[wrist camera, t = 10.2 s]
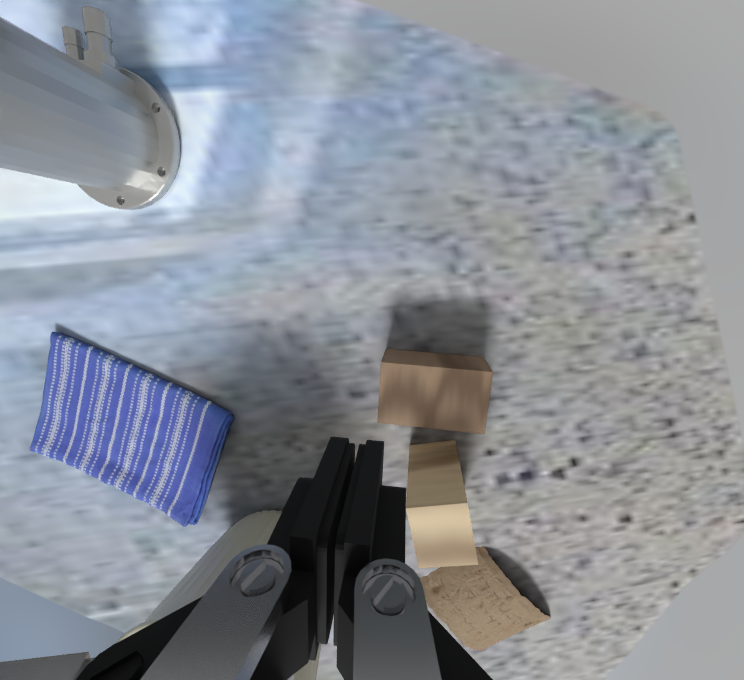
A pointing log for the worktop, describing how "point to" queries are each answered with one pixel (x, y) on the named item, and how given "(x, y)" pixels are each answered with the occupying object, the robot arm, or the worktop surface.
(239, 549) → the canister
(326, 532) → the robot arm
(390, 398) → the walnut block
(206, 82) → the worktop surface
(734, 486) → the worktop surface
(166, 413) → the dish towel
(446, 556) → the oak block
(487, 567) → the clay tablet
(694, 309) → the worktop surface
